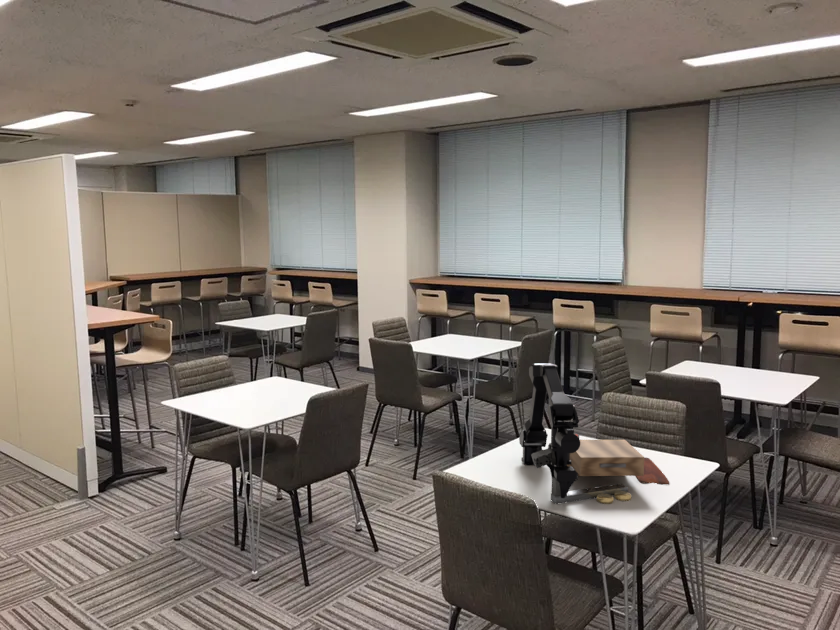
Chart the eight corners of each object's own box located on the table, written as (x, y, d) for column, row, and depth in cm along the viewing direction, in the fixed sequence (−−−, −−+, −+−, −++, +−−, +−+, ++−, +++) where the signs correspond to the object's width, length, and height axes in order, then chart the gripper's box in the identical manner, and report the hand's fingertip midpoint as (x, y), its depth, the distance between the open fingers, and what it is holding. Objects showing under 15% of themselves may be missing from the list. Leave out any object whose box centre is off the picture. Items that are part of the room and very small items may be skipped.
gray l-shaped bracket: (555, 504, 198) (556, 479, 197) (550, 501, 201) (551, 476, 200) (627, 494, 207) (628, 470, 206) (621, 490, 210) (622, 466, 209)
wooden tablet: (671, 486, 214) (671, 482, 214) (639, 485, 215) (640, 480, 215) (651, 459, 241) (652, 455, 240) (623, 458, 242) (624, 453, 242)
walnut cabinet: (580, 495, 205) (581, 458, 203) (565, 473, 224) (566, 439, 222) (643, 495, 206) (645, 458, 204) (623, 473, 224) (624, 439, 223)
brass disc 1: (602, 505, 198) (602, 500, 198) (593, 499, 203) (593, 494, 202) (616, 503, 199) (616, 499, 199) (607, 497, 204) (607, 493, 204)
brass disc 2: (621, 503, 200) (621, 498, 200) (610, 497, 204) (611, 492, 204) (634, 500, 202) (634, 495, 202) (623, 494, 206) (623, 490, 206)
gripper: (527, 433, 207) (526, 480, 209) (540, 452, 188) (539, 504, 190) (562, 433, 207) (561, 480, 209) (579, 452, 189) (577, 504, 190)
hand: (558, 492), depth 200 cm, fingers open, 9 cm apart
